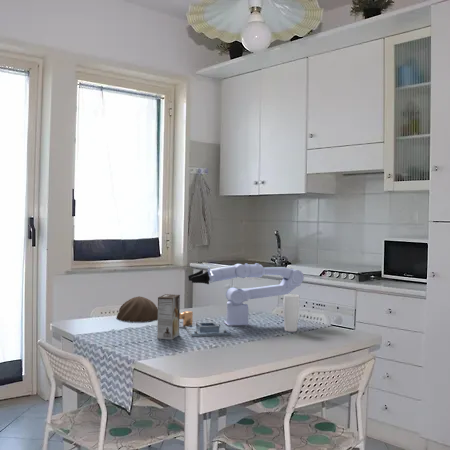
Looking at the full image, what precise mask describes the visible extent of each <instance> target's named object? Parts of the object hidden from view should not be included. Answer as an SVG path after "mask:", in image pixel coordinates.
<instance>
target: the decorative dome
mask: <svg viewBox="0 0 450 450" xmlns="http://www.w3.org/2000/svg"><path fill="white" fill-rule="evenodd" d="M117 319H118V320H120V321H124V322H132V323H137V322H143V323H145V322H146V323H147V322H150V321H158V306H157V305H156V304H155V303H154V302H153V301H152V300H151V299H148V298H146V297H144V296H134V297H132V298H129V299H128V300H126V301H124V302H123V304H121V306H120V308H119V310H118V313H117V315H116V320H117Z"/></svg>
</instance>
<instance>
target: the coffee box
mask: <svg viewBox="0 0 450 450" xmlns="http://www.w3.org/2000/svg"><path fill="white" fill-rule="evenodd" d="M180 296H181V294H171V293H169V294H168V293H167V294H166V293H164V294H163V295H161V296H159V297H157V309H158V319H157V333H156V334H157V335H156V336H157V339H158V340H170V341H171V340H174V339H176V338H177V337H178V336H179V335H180V319H179V316H180V313H181V312H180V310H181V308H180V307H181V306H180V304H181V303H180V302H181V300H180V299H181V298H180Z"/></svg>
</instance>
